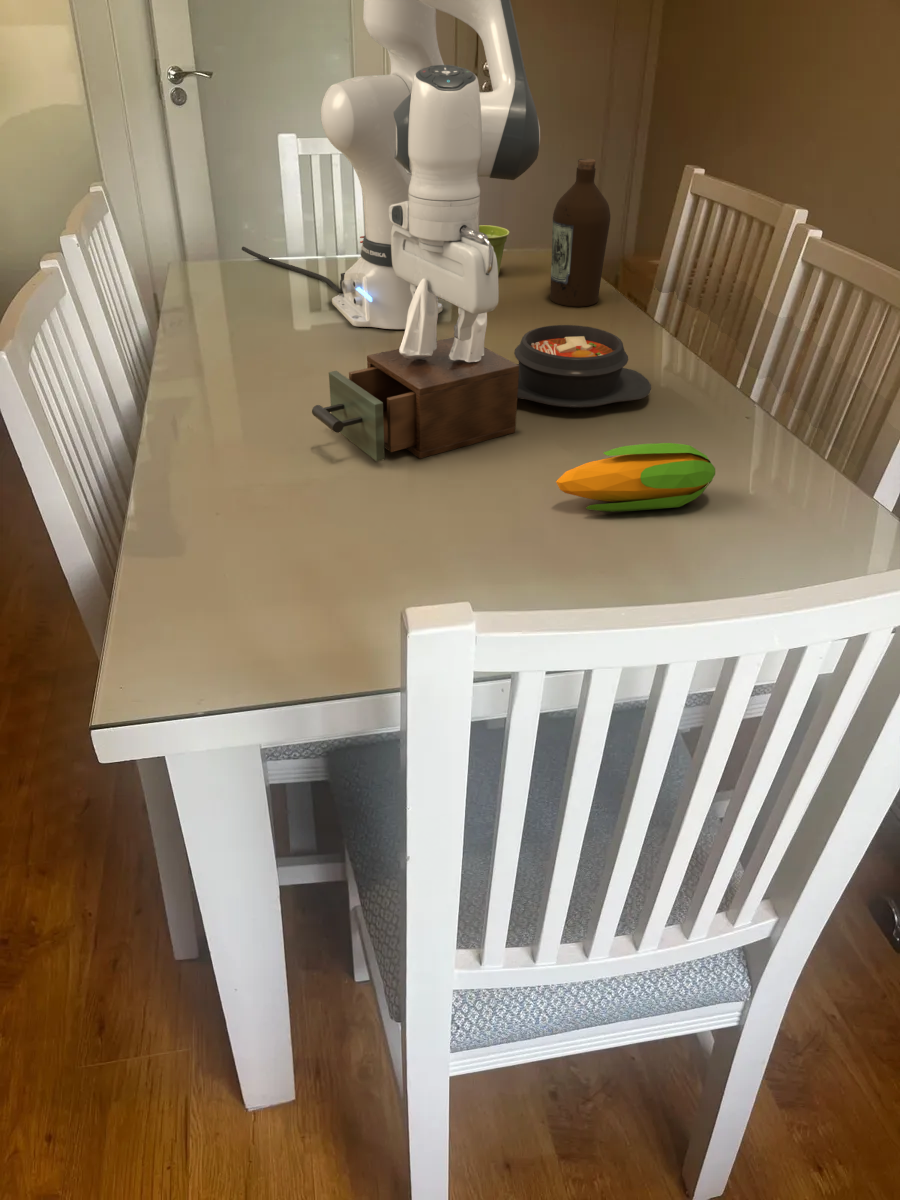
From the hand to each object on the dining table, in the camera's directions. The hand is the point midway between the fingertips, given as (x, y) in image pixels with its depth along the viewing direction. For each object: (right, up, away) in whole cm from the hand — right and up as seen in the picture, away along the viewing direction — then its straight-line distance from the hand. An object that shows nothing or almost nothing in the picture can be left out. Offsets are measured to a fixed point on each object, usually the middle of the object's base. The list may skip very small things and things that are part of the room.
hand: (442, 328), depth 121 cm
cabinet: (0, -12, +8) cm, 14 cm away
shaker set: (0, -4, +3) cm, 5 cm away
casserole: (+19, -5, +19) cm, 27 cm away
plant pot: (+8, +32, +71) cm, 78 cm away
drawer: (-8, -14, +4) cm, 16 cm away
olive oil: (+25, +22, +57) cm, 66 cm away
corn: (+24, -25, -9) cm, 35 cm away
